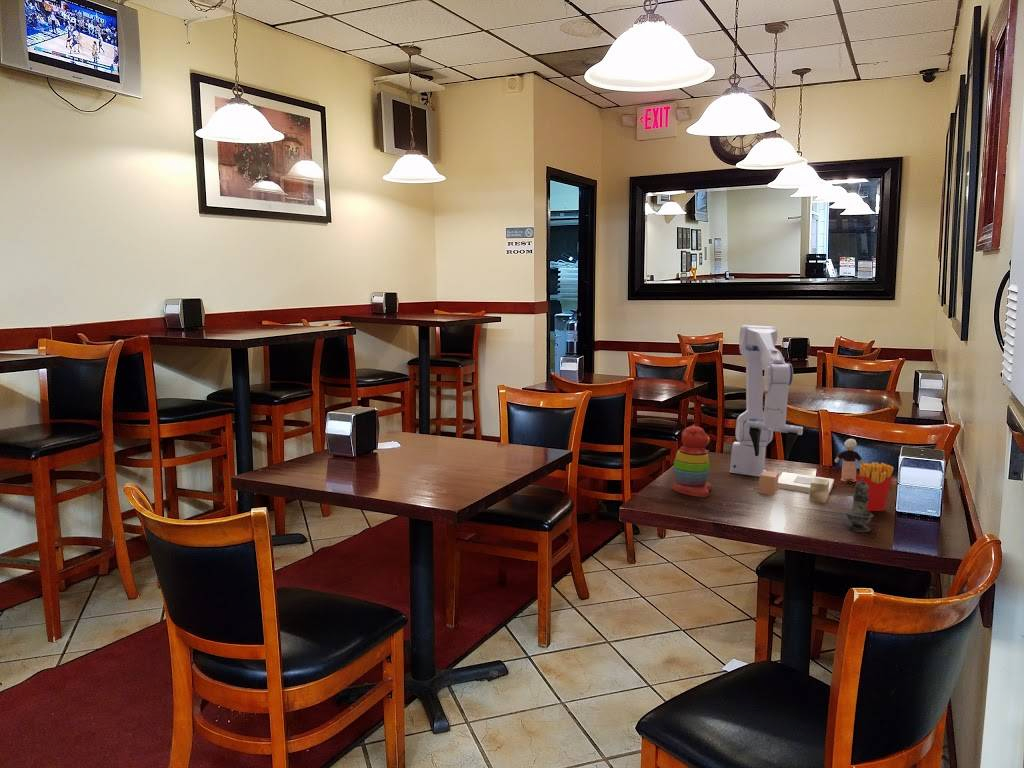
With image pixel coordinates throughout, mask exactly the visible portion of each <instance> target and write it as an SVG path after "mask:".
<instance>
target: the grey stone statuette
mask: <svg viewBox="0 0 1024 768" xmlns="http://www.w3.org/2000/svg"><path fill="white" fill-rule="evenodd" d="M868 490H869V486H868V484H866V483H865V482H864V479H862V480H861V482H858V483H857V482H856V483H855V486H854V495H852V498H853V504H852V507H851V509H847V510H846V511H845V514H846V518H847V521H849V522H850V523H848V524H845V528H846V529H847V530H848V529H849V530H851V531H854V532H860V533H861V532H862V533H866V532H870V531H871V528H870V527H869V526H867V525H868V524H869V523H870V522H871V520H872V518H873V517H874V515H873V513H872V512H870V511H868V510H867V503H868V500H869V498H868Z"/></svg>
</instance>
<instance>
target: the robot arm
mask: <svg viewBox="0 0 1024 768" xmlns="http://www.w3.org/2000/svg"><path fill="white" fill-rule="evenodd" d="M738 339H739V341H738V342H739V344H738V345H739V346H738V348H739V354H741V356H743V357H744V359H745V368H746V369H745V392H746V393H745V397H746V398H745V400H746V401H745V405H746V406H745V409H746V410H745V411H744V412H742V413H741V414H739V415H738V416H737V418H736V424H735V425H736V426H735V434H734V435H735V439H736V440H737V441H734V442H733V444H732V447H731V455H730V469H729V473H732V474H738V475H744V476H745V475H746V476H752V477H758V478H760V474H761V473H762V472H763V471H768V470H766V469H764V468H765V461H766V460H765V458H766V446H768V445H769V444H770V443H771V442H772V440H773V437H774V432H777V433H785V434H786V435H785V437H786V438H785V452H784V459H783V460H784V461H788V460H789V455H790V452H791V450H792V447H793V445H794V443H795V441H796V439H797V438H798V437H799V436H802V435H803V433H804V427H803V426H798V425H793V424H787V423H786V422H787V412H788V411H787V409H788V402H789V401H788V397H789V389H790V388H789V387H790V386H791V385H792V383H793V379H794V368H793V365H792V363H787V362H786V361H785V359H784V356H783V354H782V352H781V351H780V350H779V349H777V348H776V344H777V342H778V330H777V327H775V326H774V325H771V326H769V325H767V326H766V325H747V324H743V325H742V326H741V327H740V331H739V337H738ZM763 369H764V371H763ZM763 372H764V373H763ZM763 376H764V377H763ZM763 378H764V381H763ZM763 382H764V385H763ZM763 387H764V388H763ZM763 389H764V390H765V397H764V396H763V395H764V394H763ZM763 397H764V398H765V399H764V402H763ZM763 403H764V405H763ZM763 409H764V410H763Z"/></svg>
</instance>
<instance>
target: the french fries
mask: <svg viewBox="0 0 1024 768" xmlns="http://www.w3.org/2000/svg"><path fill="white" fill-rule="evenodd" d="M893 472H894V467H893V466H892V465H890V464H887V463H884V462H881V463H879V462H874V461H872V462H871V463H868V462H863V466H862V465H860V464H859V474H856V480H857V482H856V484H857V483H858V482H861V480H862V479H864V482H865V483H866V484H868V486H869V490H868V498H869V500H868V503H867V510H868V512H871V511H882V512H884V511H883V510H886V507H887V500H888V496H889V491H890V486H891V481H892V473H893Z"/></svg>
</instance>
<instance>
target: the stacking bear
mask: <svg viewBox="0 0 1024 768" xmlns="http://www.w3.org/2000/svg"><path fill="white" fill-rule="evenodd" d="M710 441H711V438H710V437H709V435H708V434H707V433H706V432H705V429H704V428H702V427H700V426H696V425H695V424H692V425H690V426H688V427H685V428H684V429H683V431H682V432H681V442H682V446H680V448H679V449H678V450H677V451H676V454H675V459H674V463H673V474H674V480H675V482H674V484H673V486H672V488H673V490H674V491H675V492H677V493H680V494H683V495H686V496H691V497H692V496H693V497H699V498H708V497H709V496H710V491H712V488H713V487H712V484H711V483H710V482H707V481H708V477H709V474H710V460H709V454H708V450H707V449H706V446H708V445H709V443H710Z"/></svg>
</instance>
